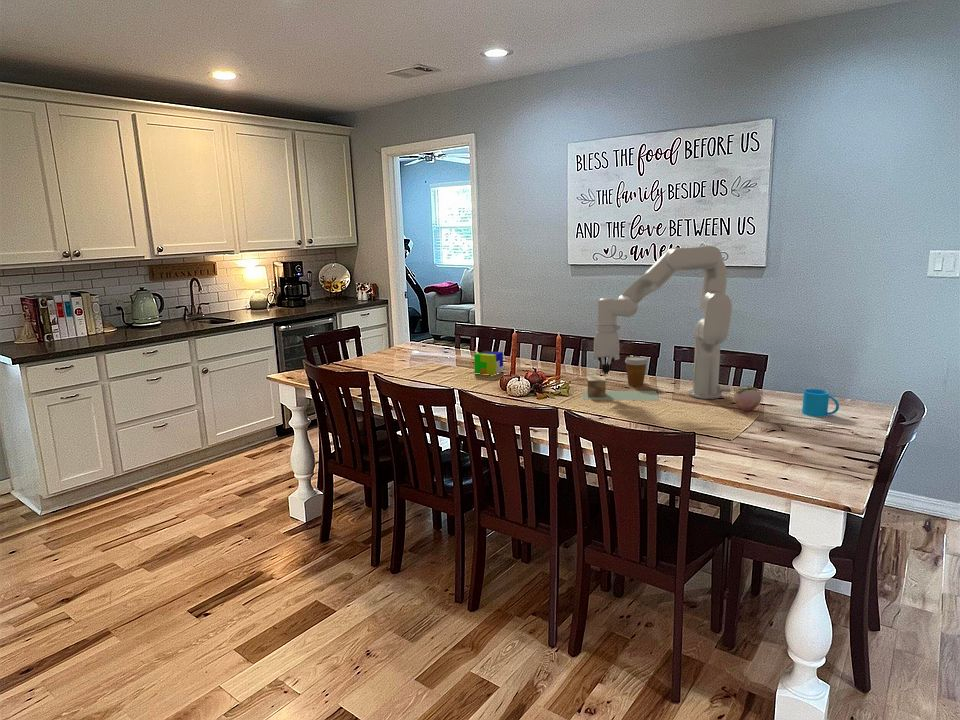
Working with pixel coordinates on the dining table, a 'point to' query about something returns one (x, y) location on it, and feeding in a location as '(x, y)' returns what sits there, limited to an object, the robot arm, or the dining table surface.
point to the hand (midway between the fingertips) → (605, 373)
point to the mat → (625, 395)
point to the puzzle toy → (488, 362)
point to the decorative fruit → (747, 398)
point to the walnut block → (596, 386)
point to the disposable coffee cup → (636, 370)
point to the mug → (817, 403)
